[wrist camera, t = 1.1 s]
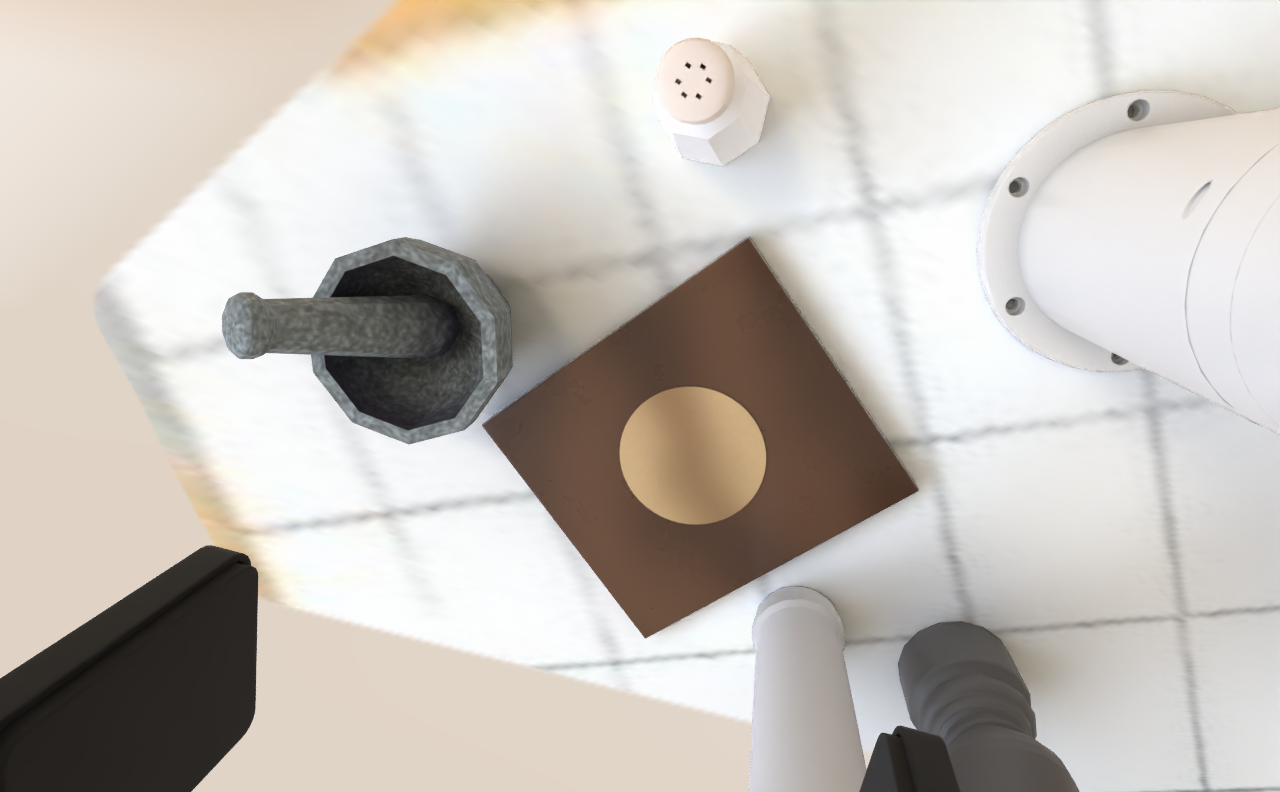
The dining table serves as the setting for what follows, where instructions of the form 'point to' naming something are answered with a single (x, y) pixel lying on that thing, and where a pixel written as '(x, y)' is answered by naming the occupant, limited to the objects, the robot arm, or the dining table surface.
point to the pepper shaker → (709, 100)
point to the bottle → (802, 698)
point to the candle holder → (978, 710)
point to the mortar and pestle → (391, 337)
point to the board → (700, 444)
